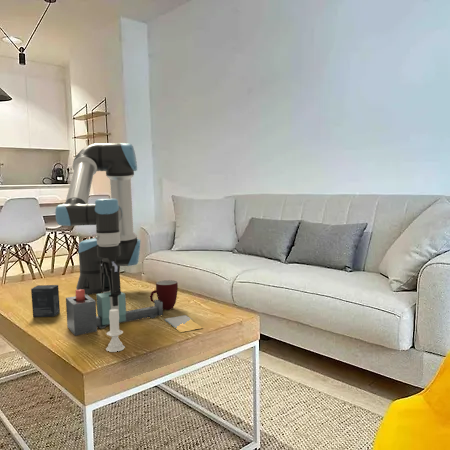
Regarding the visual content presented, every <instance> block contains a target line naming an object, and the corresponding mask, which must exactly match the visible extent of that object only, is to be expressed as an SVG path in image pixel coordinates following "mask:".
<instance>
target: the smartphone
mask: <svg viewBox="0 0 450 450" xmlns="http://www.w3.org/2000/svg"><path fill="white" fill-rule="evenodd" d="M190 319H192V318H191V317H189V316H188V315H186V314H184V315H179V316H172V317H166V318H164V322H165V321H166V323H167V322H168V323H169V324H171V325H172V326H173V327H175V328H177V326H179V325H180V324H182V323H183V324H185V323H186V322H187V321H189V320H190ZM168 323H167V324H168ZM169 324H168V325H169ZM172 326H171V327H172ZM173 327H172V328H173Z"/></svg>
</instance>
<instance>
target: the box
mask: <svg viewBox="0 0 450 450" xmlns="http://www.w3.org/2000/svg"><path fill="white" fill-rule="evenodd" d="M30 291H31V292H30V293H31V305H32V308H31V309H32V318H42V317H43V318H47V317H49V318H50V317H55V316H57V315H58V314H60V313H61V309H60V293H59V292H60V291H59V284H41V285H36V286H34V287H32V288H30Z"/></svg>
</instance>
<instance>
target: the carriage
mask: <svg viewBox="0 0 450 450" xmlns="http://www.w3.org/2000/svg"><path fill="white" fill-rule="evenodd" d="M95 295H96V315H97V316H100V317H101V320H102V325H106V324H110V320H109V311H110V297H109V295H111V293H110V292H107V293H100V294H95ZM118 299H119V322H122V321H126V315H125V314H126V311H127V307H126V306H127V303H126V299H127V298H126V293H124V292H122V291H121V295H119V296H118Z"/></svg>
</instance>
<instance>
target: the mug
mask: <svg viewBox="0 0 450 450" xmlns="http://www.w3.org/2000/svg"><path fill="white" fill-rule="evenodd" d="M178 289H179V285H178V281H177V280H172V279H169V280H159V281H156V282H155V289H154V290H152V291H151V292H150V295H149V300H150V302H151V303H153V304H154V300H155V299H154V297H153V296H154V294H156V296H157V300H160V301H162V302H163V311H170V309H171V310H172V309H173V308H174V307H175V305H176V302H177V299H178V291H179V290H178Z"/></svg>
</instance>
